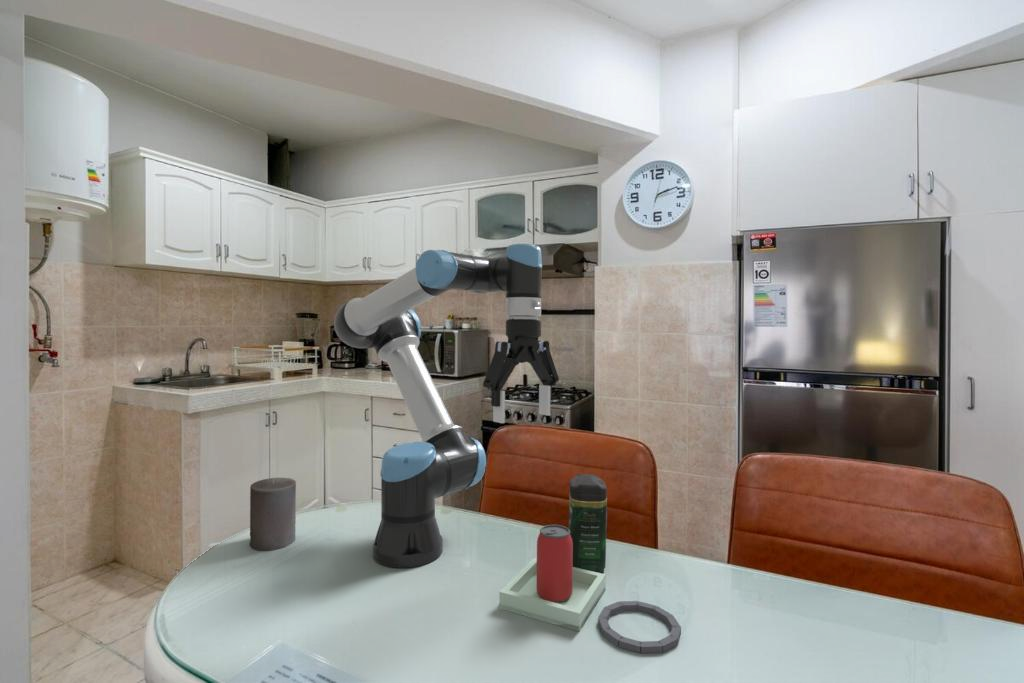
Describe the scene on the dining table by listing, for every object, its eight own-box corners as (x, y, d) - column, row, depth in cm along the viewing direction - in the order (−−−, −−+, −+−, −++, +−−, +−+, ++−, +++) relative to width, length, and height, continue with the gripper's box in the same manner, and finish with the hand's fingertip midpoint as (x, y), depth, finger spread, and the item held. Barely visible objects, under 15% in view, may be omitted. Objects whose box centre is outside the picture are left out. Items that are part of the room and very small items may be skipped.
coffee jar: (608, 576, 103) (609, 485, 102) (568, 574, 103) (569, 483, 103) (603, 554, 112) (604, 471, 112) (567, 553, 113) (568, 470, 113)
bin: (499, 608, 91) (499, 591, 91) (533, 572, 104) (534, 557, 104) (579, 631, 84) (579, 613, 84) (605, 589, 97) (605, 574, 97)
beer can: (529, 591, 95) (530, 527, 95) (558, 582, 99) (558, 520, 98) (550, 607, 90) (550, 540, 89) (579, 597, 93) (580, 532, 93)
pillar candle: (239, 547, 115) (239, 481, 114) (271, 530, 124) (271, 470, 123) (275, 554, 112) (275, 486, 111) (305, 536, 121) (305, 474, 121)
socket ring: (589, 638, 82) (589, 632, 82) (611, 599, 94) (611, 594, 94) (672, 662, 76) (672, 656, 76) (685, 618, 88) (685, 612, 88)
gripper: (490, 317, 97) (489, 428, 97) (575, 319, 114) (574, 413, 114) (466, 317, 102) (465, 422, 103) (550, 319, 119) (549, 409, 120)
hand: (522, 418), depth 108 cm, fingers open, 13 cm apart
